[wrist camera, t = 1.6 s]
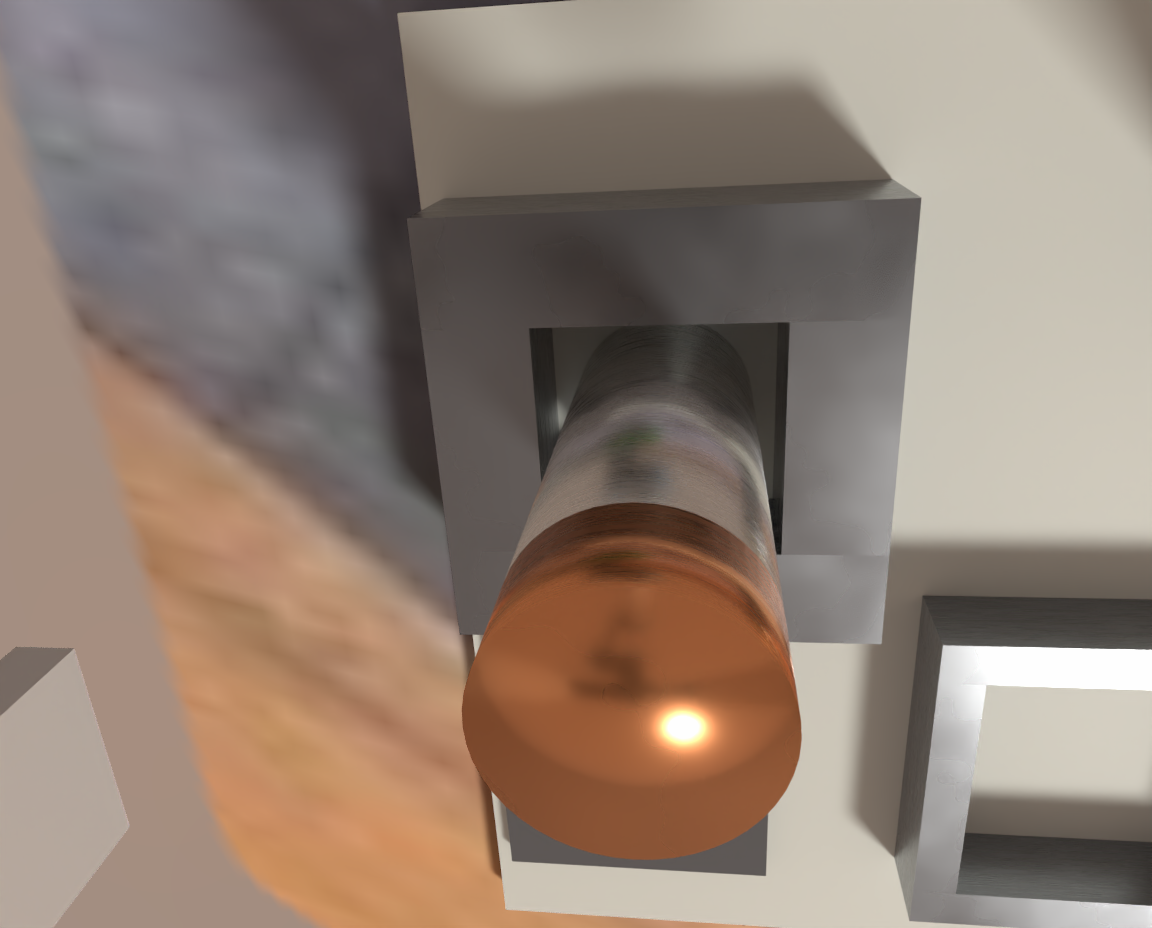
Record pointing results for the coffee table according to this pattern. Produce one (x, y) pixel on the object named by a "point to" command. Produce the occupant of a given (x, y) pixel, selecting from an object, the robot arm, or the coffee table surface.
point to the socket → (948, 753)
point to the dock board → (933, 372)
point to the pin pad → (726, 858)
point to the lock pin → (643, 616)
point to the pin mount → (678, 297)
